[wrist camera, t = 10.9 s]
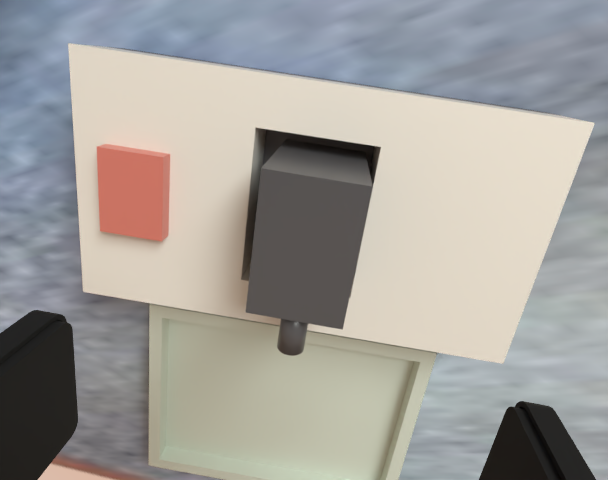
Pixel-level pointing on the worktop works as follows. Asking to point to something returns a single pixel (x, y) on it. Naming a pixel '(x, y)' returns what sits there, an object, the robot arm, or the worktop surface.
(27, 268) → the worktop surface
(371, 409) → the tray
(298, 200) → the plug
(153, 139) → the power strip
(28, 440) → the robot arm
